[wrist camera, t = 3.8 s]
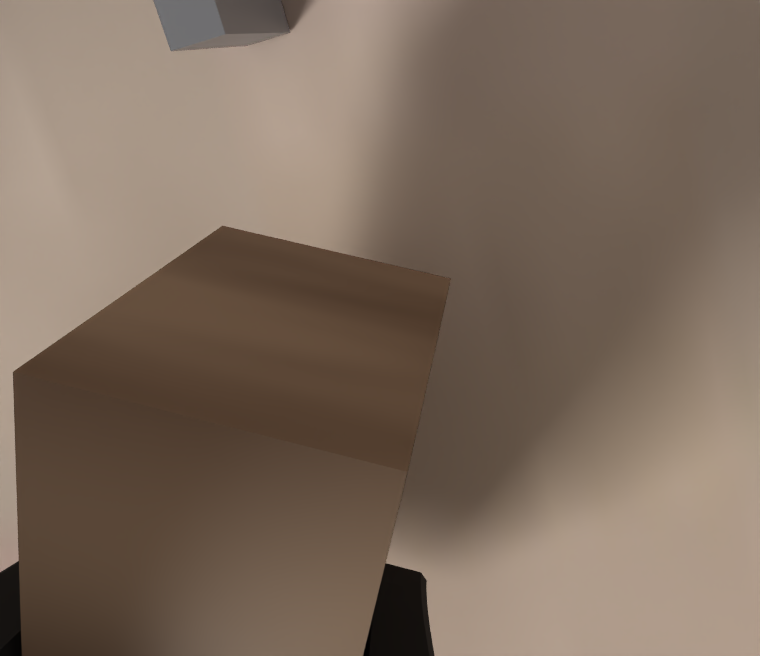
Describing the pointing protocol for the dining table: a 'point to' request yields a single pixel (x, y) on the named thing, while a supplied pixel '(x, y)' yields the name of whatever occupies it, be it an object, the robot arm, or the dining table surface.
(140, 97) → the dining table surface
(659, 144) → the dining table surface
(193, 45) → the gray angular bracket
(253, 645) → the slat
